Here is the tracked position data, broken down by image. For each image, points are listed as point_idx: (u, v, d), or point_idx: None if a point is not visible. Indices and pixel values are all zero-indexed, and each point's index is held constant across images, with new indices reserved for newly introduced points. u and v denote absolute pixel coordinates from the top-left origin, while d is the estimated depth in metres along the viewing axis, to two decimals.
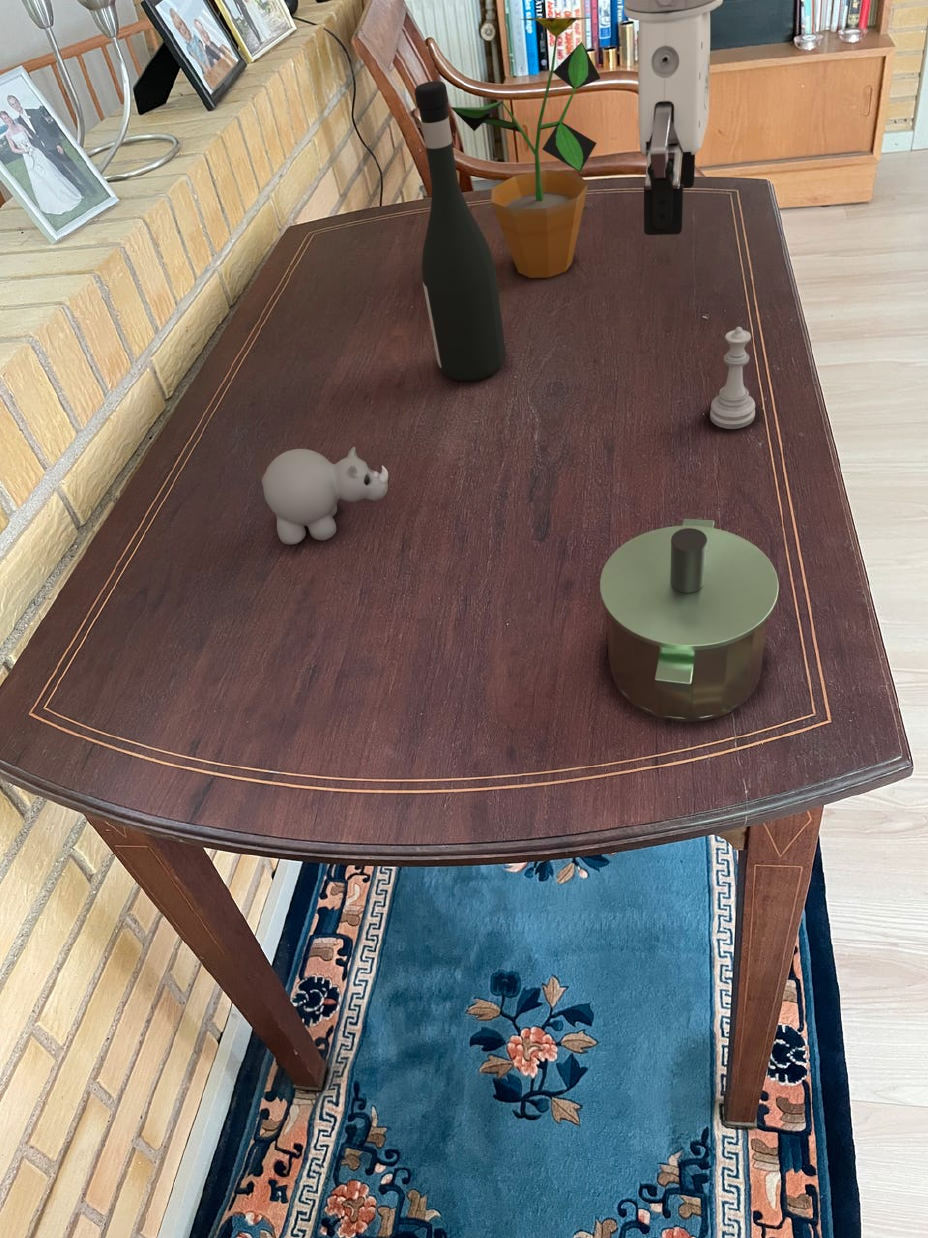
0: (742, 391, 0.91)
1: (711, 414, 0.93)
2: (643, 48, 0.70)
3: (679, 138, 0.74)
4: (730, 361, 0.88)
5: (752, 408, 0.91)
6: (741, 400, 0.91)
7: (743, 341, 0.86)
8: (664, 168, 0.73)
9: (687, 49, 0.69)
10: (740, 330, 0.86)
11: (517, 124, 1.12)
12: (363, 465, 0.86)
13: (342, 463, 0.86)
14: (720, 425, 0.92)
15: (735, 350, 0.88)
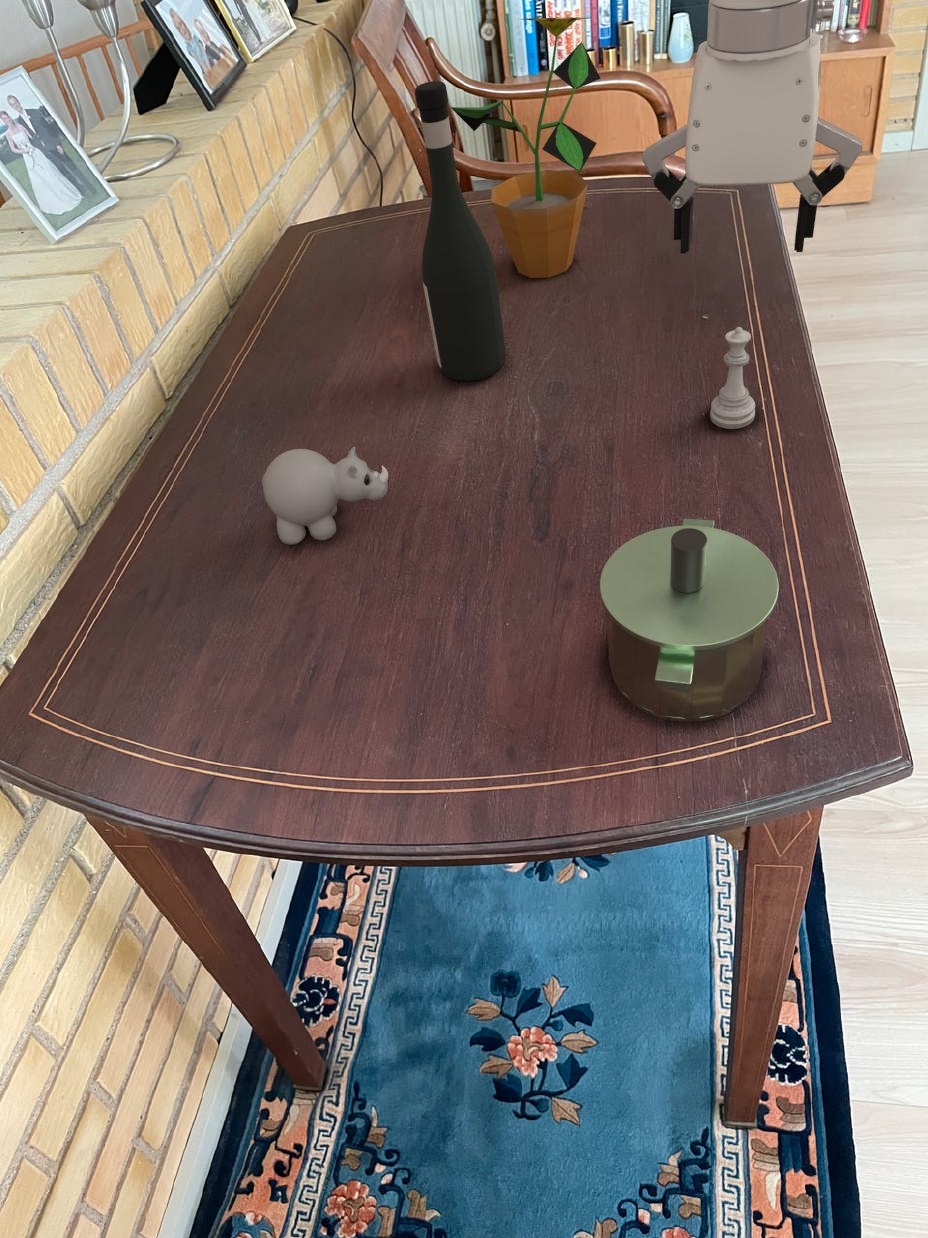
0: (742, 391, 0.91)
1: (711, 414, 0.93)
2: (813, 71, 0.69)
3: None
4: (730, 361, 0.88)
5: (752, 408, 0.91)
6: (741, 400, 0.91)
7: (743, 341, 0.86)
8: None
9: None
10: (740, 330, 0.86)
11: (517, 124, 1.12)
12: (363, 465, 0.86)
13: (342, 463, 0.86)
14: (720, 425, 0.92)
15: (735, 350, 0.88)
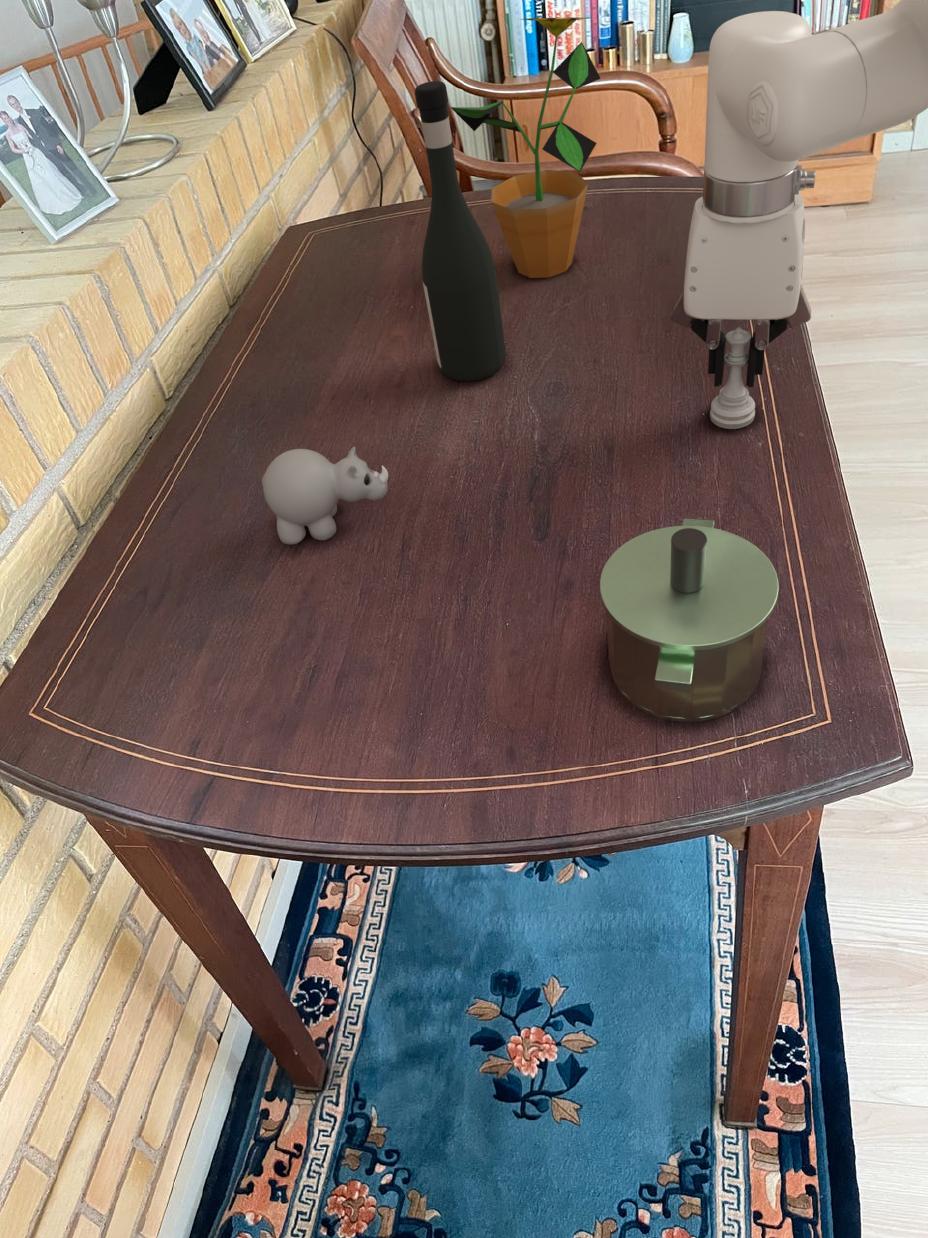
0: (742, 391, 0.91)
1: (711, 414, 0.93)
2: (798, 230, 0.77)
3: None
4: (730, 361, 0.88)
5: (752, 408, 0.91)
6: (741, 400, 0.91)
7: (743, 341, 0.86)
8: None
9: None
10: (740, 330, 0.86)
11: (517, 124, 1.12)
12: (363, 465, 0.86)
13: (342, 463, 0.86)
14: (720, 425, 0.92)
15: (735, 350, 0.88)
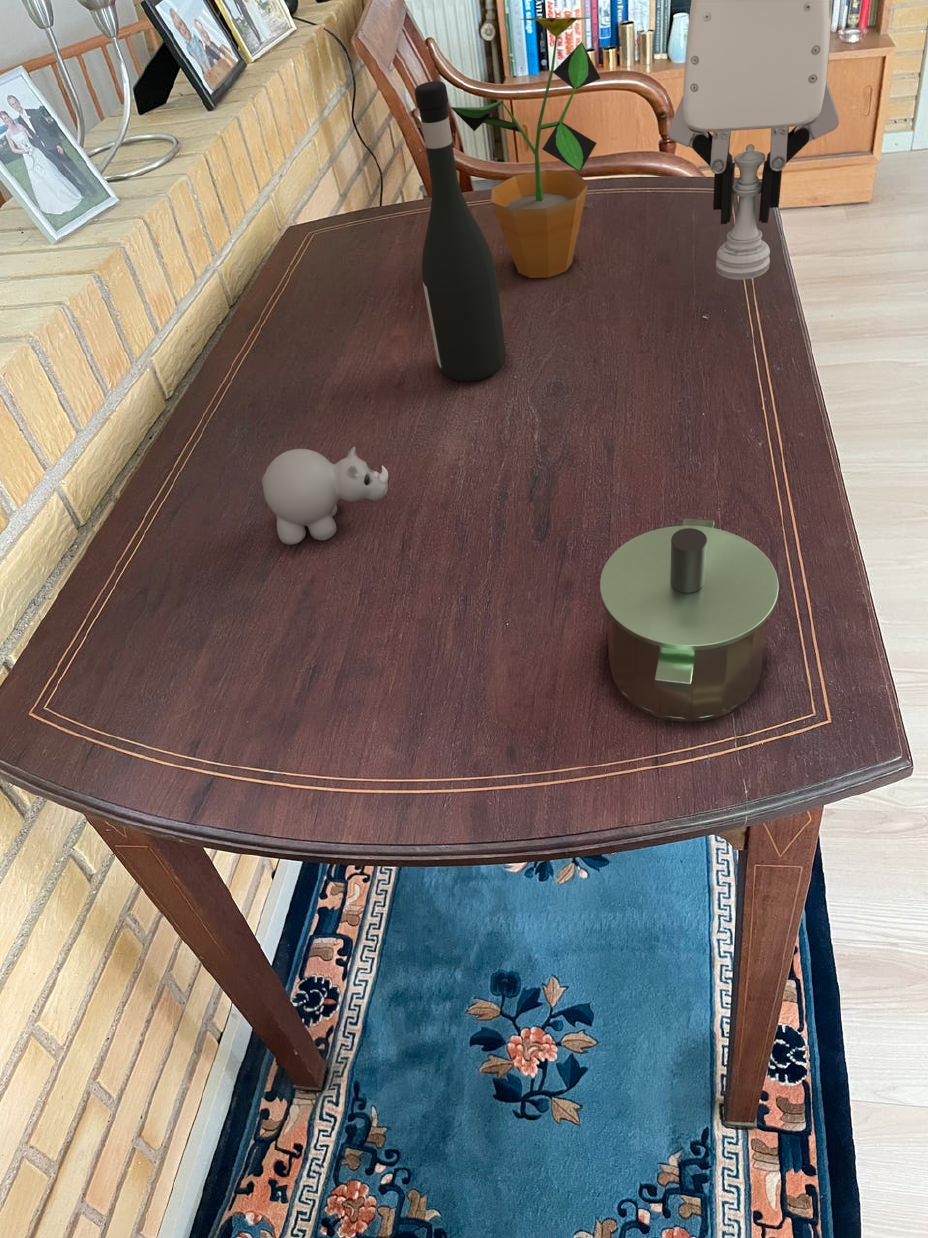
0: (754, 231, 0.75)
1: (717, 264, 0.78)
2: None
3: None
4: (740, 190, 0.73)
5: (766, 253, 0.76)
6: (753, 242, 0.75)
7: (756, 161, 0.71)
8: None
9: None
10: (752, 148, 0.71)
11: (517, 124, 1.12)
12: (363, 465, 0.86)
13: (342, 463, 0.86)
14: (728, 275, 0.77)
15: (745, 175, 0.73)
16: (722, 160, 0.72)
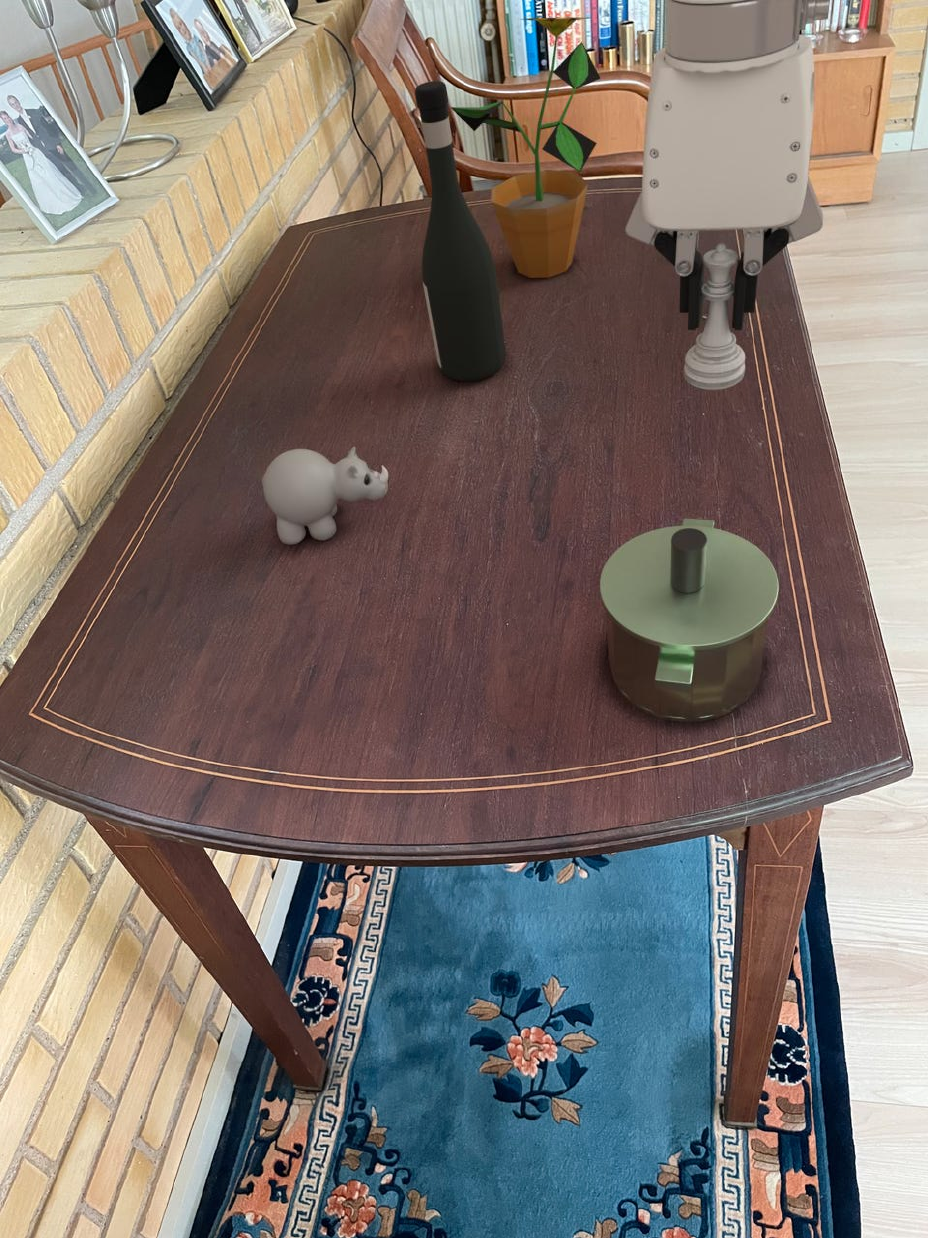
0: (727, 337, 0.66)
1: (686, 371, 0.68)
2: (804, 85, 0.52)
3: None
4: (710, 293, 0.63)
5: (741, 361, 0.66)
6: (725, 349, 0.66)
7: (727, 263, 0.61)
8: None
9: None
10: (723, 247, 0.62)
11: (517, 124, 1.12)
12: (363, 465, 0.86)
13: (342, 463, 0.86)
14: (697, 384, 0.67)
15: (716, 277, 0.63)
16: (688, 262, 0.62)
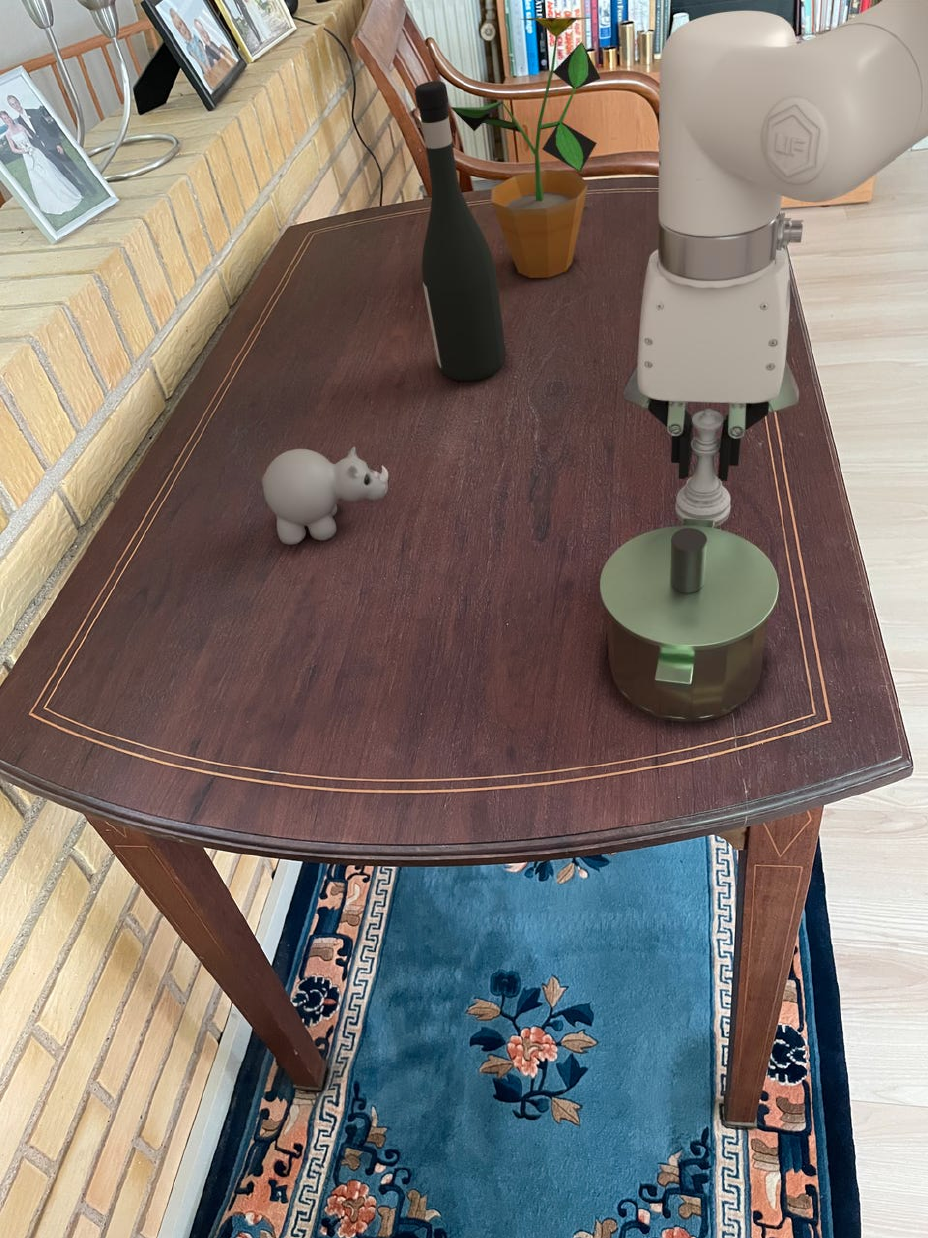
0: (714, 484, 0.73)
1: (677, 510, 0.75)
2: (780, 296, 0.59)
3: None
4: (698, 449, 0.70)
5: (726, 504, 0.74)
6: (712, 495, 0.73)
7: (714, 426, 0.69)
8: None
9: None
10: (710, 412, 0.69)
11: (517, 124, 1.12)
12: (363, 465, 0.86)
13: (342, 463, 0.86)
14: None
15: (703, 437, 0.70)
16: (679, 425, 0.69)
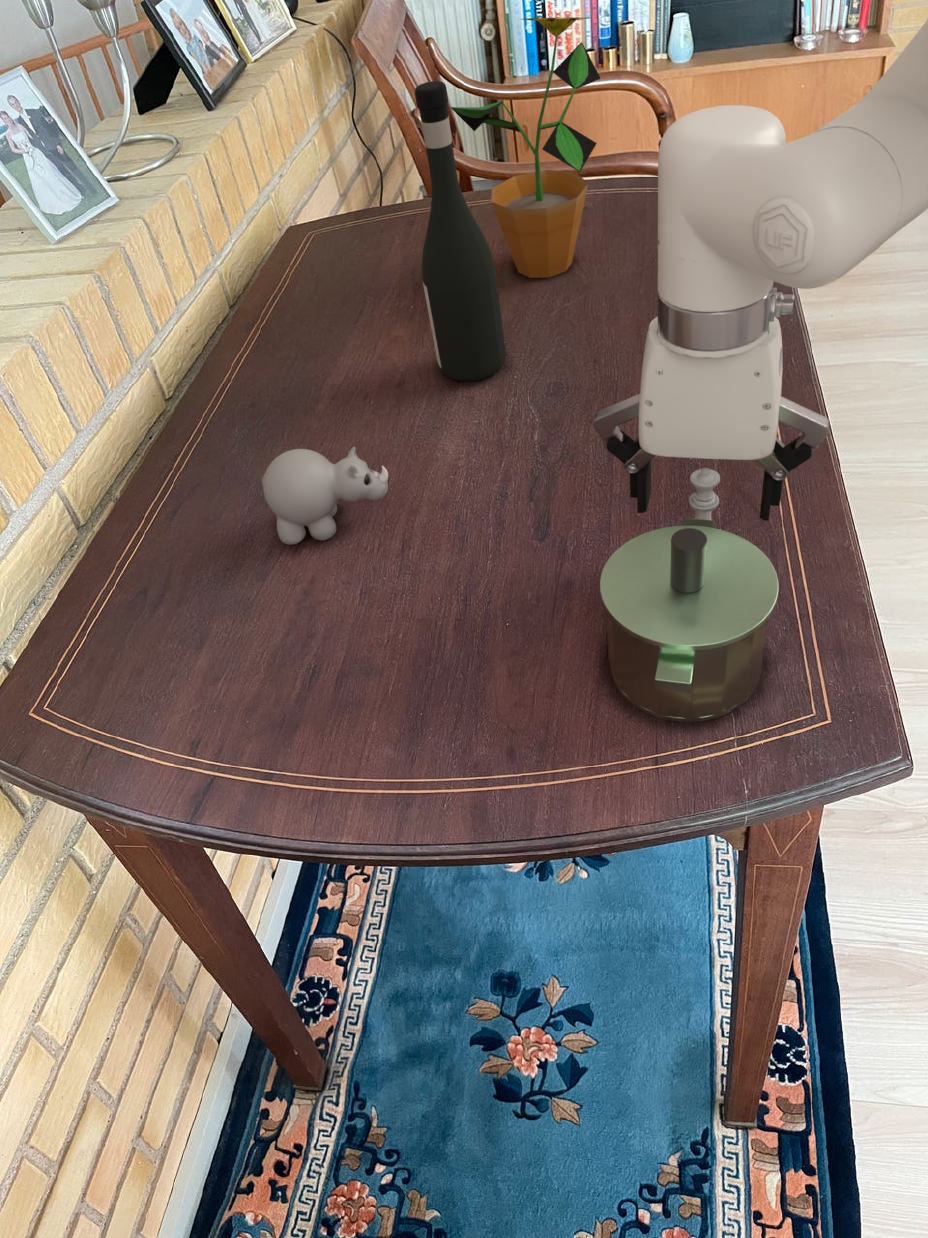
0: None
1: None
2: (773, 364, 0.63)
3: None
4: (696, 505, 0.74)
5: None
6: None
7: (711, 485, 0.72)
8: None
9: None
10: (707, 472, 0.72)
11: (517, 124, 1.12)
12: (363, 465, 0.86)
13: (342, 463, 0.86)
14: None
15: (701, 494, 0.74)
16: (636, 463, 0.72)
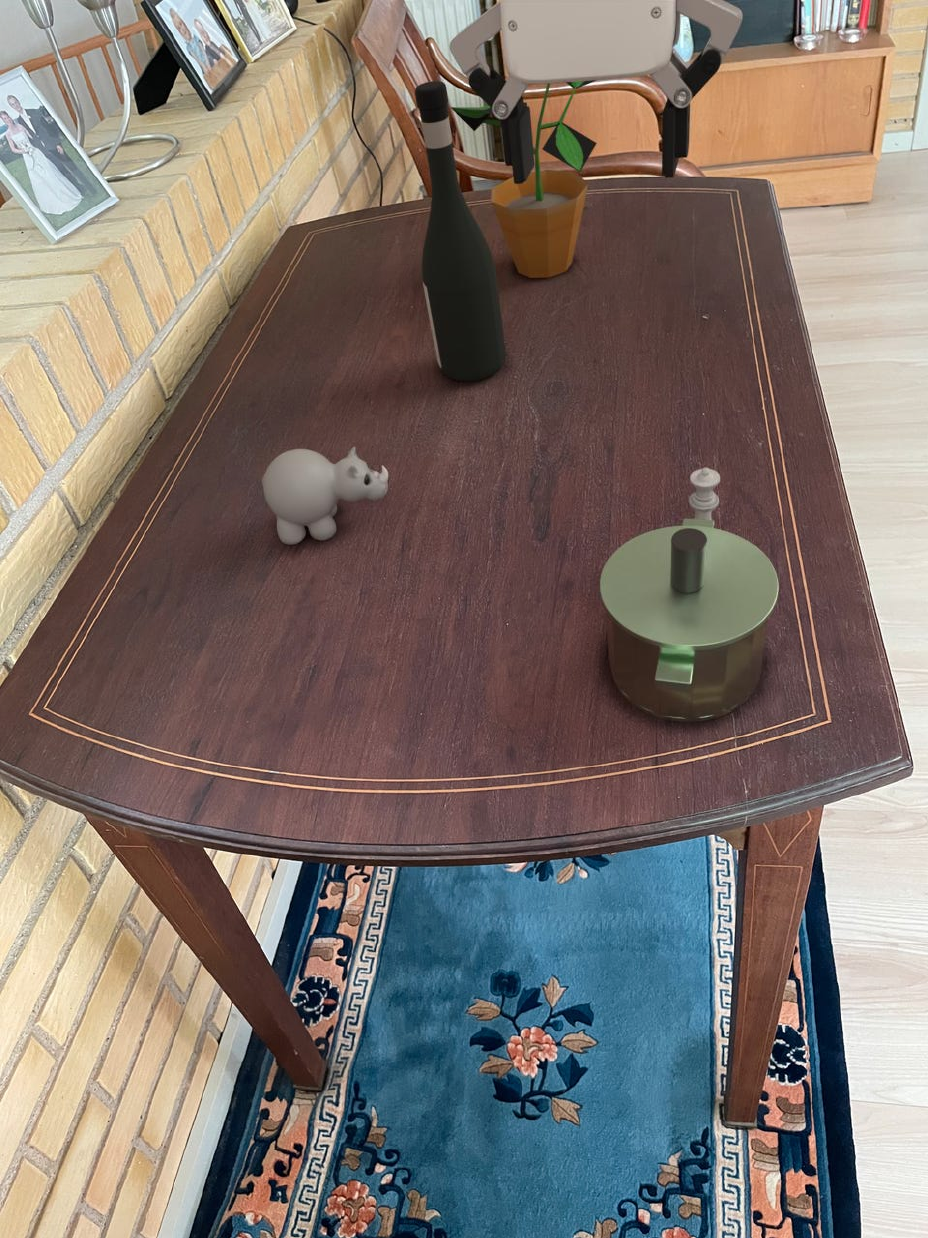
0: None
1: None
2: None
3: (680, 23, 0.54)
4: (696, 505, 0.74)
5: None
6: None
7: (711, 485, 0.72)
8: None
9: None
10: (707, 472, 0.72)
11: None
12: (363, 465, 0.86)
13: (342, 463, 0.86)
14: None
15: (701, 494, 0.74)
16: (505, 101, 0.57)
